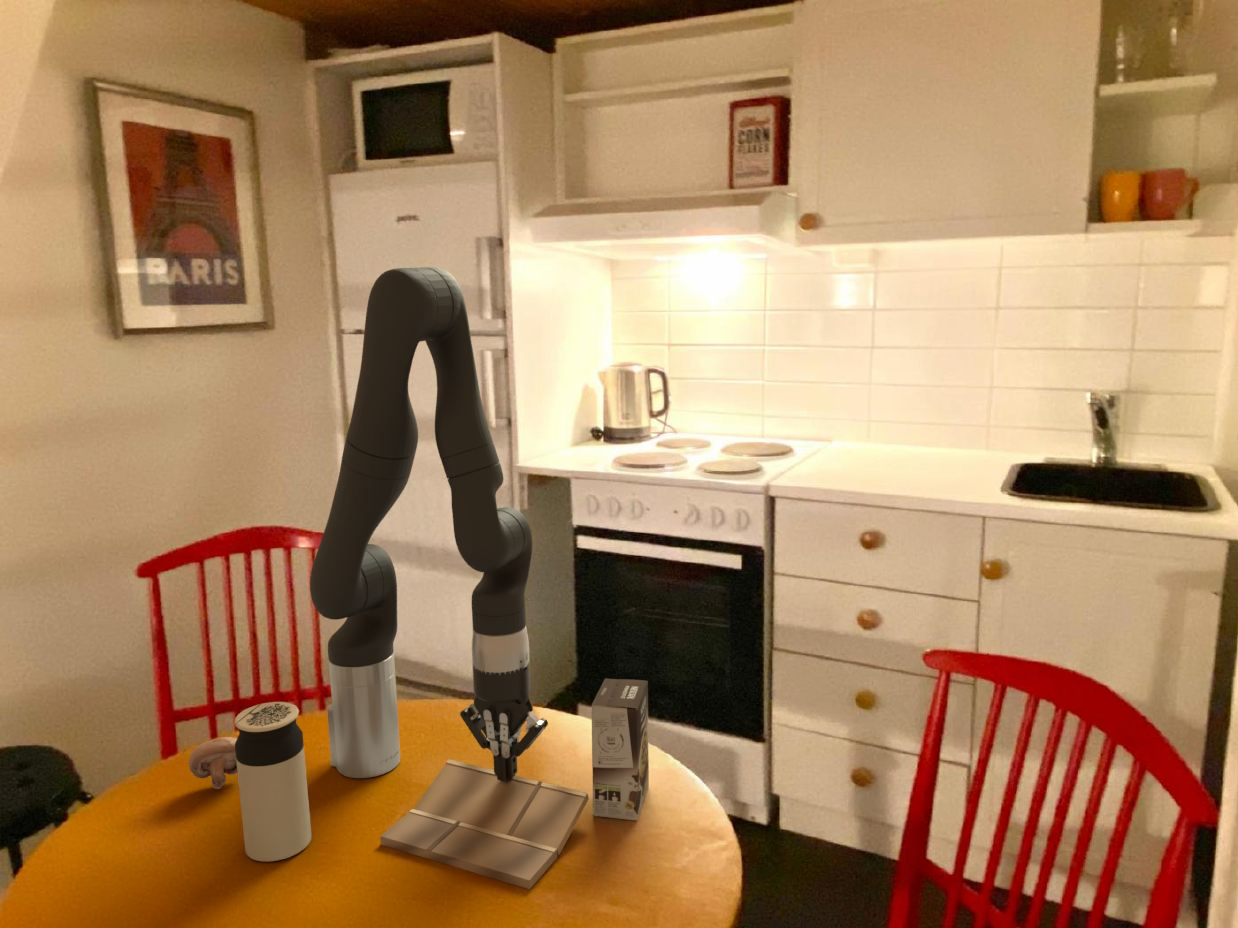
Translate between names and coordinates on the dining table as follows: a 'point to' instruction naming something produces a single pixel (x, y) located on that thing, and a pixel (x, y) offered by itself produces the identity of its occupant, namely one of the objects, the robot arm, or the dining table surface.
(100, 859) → the dining table surface
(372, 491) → the robot arm
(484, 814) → the board
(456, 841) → the laid plank
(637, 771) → the coffee box
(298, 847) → the travel mug
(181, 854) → the dining table surface
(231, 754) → the mushroom
